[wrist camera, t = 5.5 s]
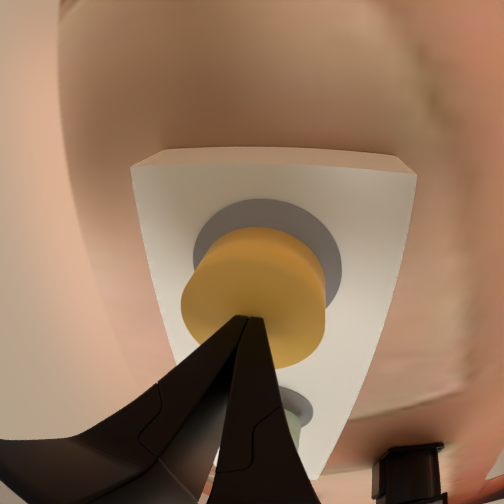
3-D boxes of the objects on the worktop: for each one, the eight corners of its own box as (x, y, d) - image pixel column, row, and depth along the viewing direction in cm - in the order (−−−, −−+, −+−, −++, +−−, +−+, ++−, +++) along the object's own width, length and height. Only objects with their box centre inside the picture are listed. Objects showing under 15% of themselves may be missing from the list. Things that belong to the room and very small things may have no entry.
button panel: (395, 155, 11) (419, 177, 8) (319, 454, 25) (316, 481, 22) (164, 149, 13) (126, 168, 10) (222, 442, 27) (214, 468, 24)
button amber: (331, 226, 9) (334, 266, 7) (318, 327, 12) (316, 375, 10) (198, 218, 10) (168, 254, 8) (211, 317, 12) (192, 359, 10)
